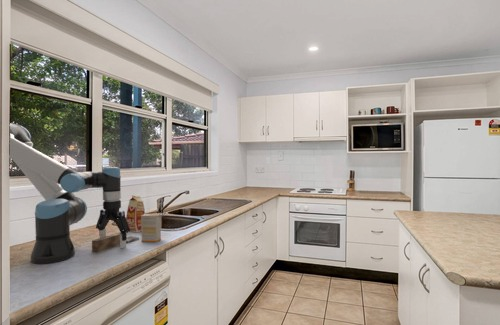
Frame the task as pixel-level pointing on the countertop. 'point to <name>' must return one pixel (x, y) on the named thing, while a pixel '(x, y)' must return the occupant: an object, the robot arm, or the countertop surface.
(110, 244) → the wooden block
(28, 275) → the countertop surface
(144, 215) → the supplement box
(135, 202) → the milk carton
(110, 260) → the countertop surface
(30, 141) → the robot arm
